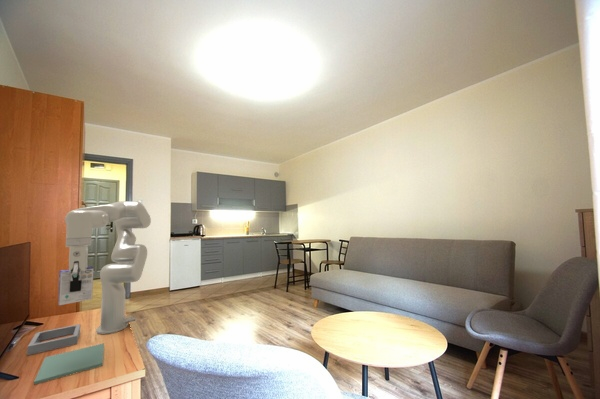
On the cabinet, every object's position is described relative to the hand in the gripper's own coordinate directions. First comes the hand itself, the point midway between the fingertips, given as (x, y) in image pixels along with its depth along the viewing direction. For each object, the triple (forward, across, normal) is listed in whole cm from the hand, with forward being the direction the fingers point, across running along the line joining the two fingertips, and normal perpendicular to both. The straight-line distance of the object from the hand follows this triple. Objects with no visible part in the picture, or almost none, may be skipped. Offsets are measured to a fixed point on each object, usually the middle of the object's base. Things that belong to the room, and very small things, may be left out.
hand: (76, 288), depth 98 cm
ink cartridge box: (+5, 0, 0) cm, 5 cm away
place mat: (+28, 0, 0) cm, 28 cm away
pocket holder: (+27, +25, +8) cm, 38 cm away
